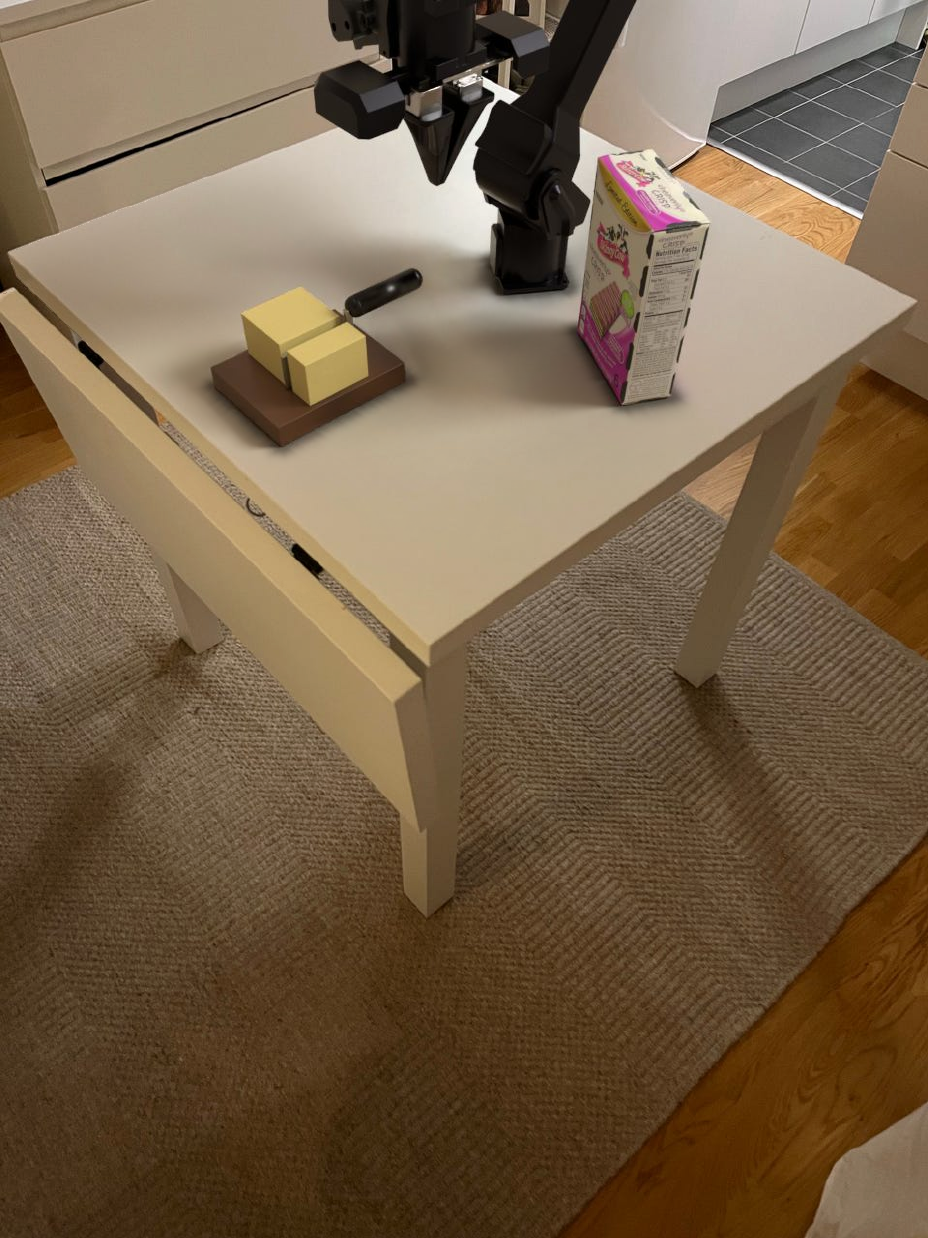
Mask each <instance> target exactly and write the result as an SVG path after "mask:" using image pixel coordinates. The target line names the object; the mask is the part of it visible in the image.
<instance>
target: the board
mask: <svg viewBox="0 0 928 1238" xmlns="http://www.w3.org/2000/svg"><path fill="white" fill-rule="evenodd" d="M331 310H332V311H334V312H335V313H336V314H337V315H339V317H340V325H342V324H344V314H342V312H340V311H338V310H337V309H336V308H333V309H331ZM353 325H354V328H356V329H357V330H358V331H359V332H361V333H362V334H363V335H365V337H366V350H367V363H368V377H366V378H364V379H362V380H360V381H358V382H356V383H354V384H352V385H350V386H348V387H346V388H344V389H342V390H340V391H339V392H337V393H335V394H333V395H331V396H329V397H327V398H325V399H323V400H321V401H319V402H317V403H315V404H313V405H311V406H310V405H308V404H307V403H306V402H305V401H304V400H303V399H301V398H300V397H299V396H298V395H297V394H296V393H294V392H293V390H292V386H290V387H288V388H287V387H286V385H285V384H284V383H283V382H281V381H280V380H279V379H278V378H277V377H276V376H274V375H273V374H272V373H271V372H270V371H269V370H267V369H266V368H265V367H264V366H263V365H262V364H260V363H259V362H258V361H257V360H256V359H255V358H253V357H252V356H251V355H250V354H249V353H248V349H247V350H244V351H242V352H240V353H238V354H236V355H233V356H230V357H229V358H227V359H225V360H222V361H221V362H218V363H216V364H214V365H212V366H210V367H209V368H210V369H209V370H210V374H211V377H212V381H213V386H214V387H215V388H216V389H217V390H218V391H219V392H220V393H221V394H222V395H223V396H225V397H226V398H227V399H228V400H229V401H230V402H231V403H233V405H234V406H236V408H238V409H239V410H240V411H241V412H242V413H243V414H244V415H245V416H247V417H248V418H249V419H250V420H251V421H252V422H253V423H254V424H255V425H256V426H257V427H259V428H260V429H261V430H262V431H263V432H264V433H265V434H267V435H268V437H270V438H271V439H272V440H273V441H274V442H275V443H276V444H277V445H278V446H280V447H281V448H282V447H284V446H285V445H288V444H289V443H292V442H293V441H295V440H298V439H299V438H301V437H303V436H304V435H307V434H308V433H310V432H312V431H314V430H316V429H318V428H320V427H322V426H324V425H325V424H327V423H329V422H331V421H333V420H335V419H337V418H338V417H341V416H342V415H344V414H346V413H349V412H350V411H352V410H354V409H355V408H357V407H359V406H361V405H364V404H365V403H367V402H369V401H370V400H372V399H374V398H376V397H378V396H380V395H382V394H384V393H386V392H388V391H390V390H391V389H393V388H396V387H397V386H399V385H401V384H403V383H405V382H406V380H407V379H406V362H405V361H404V360H403V359H401V358H400V357H399V356H397V355H396V354H395V353H393V352H392V351H391V350H389V349H388V348H387V347H385V346H384V345H383V344H382V343H380V342H379V341H377V339H375V338H374V337H373V336H371V335H370V334H369V333H367V332H366V331H365V330H363V329H362V328H361V327H359V326H358V325H357V324H355V322H353Z"/></svg>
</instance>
